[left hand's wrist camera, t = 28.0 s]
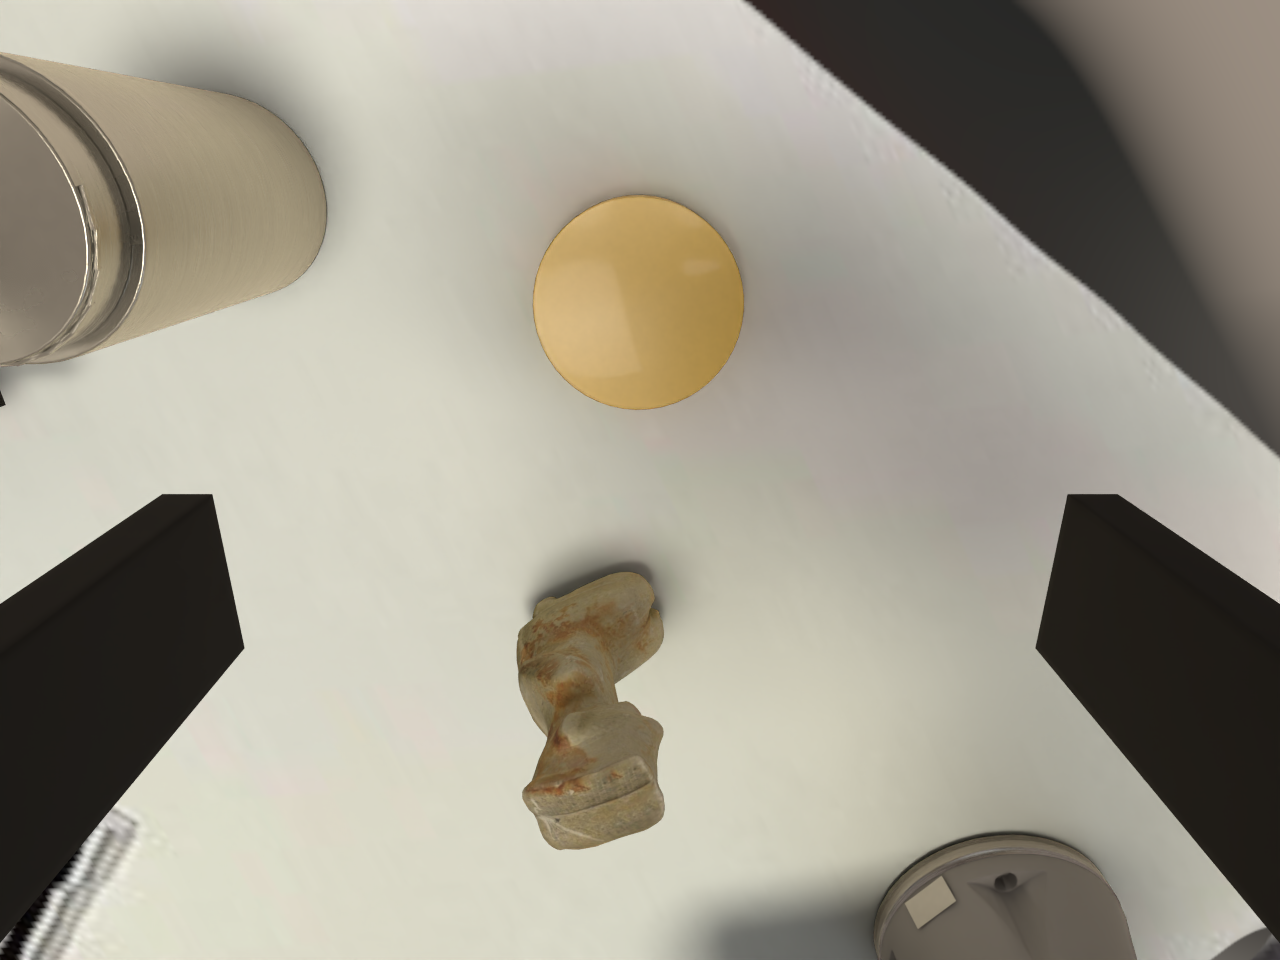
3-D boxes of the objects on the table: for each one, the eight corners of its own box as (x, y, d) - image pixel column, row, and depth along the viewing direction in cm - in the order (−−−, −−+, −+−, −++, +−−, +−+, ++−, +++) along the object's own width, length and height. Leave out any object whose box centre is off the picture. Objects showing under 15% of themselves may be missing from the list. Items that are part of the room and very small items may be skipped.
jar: (163, 302, 37) (-156, 390, 22) (107, 100, 34) (-308, 45, 19) (344, 289, 37) (144, 369, 22) (304, 85, 34) (40, 18, 19)
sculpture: (672, 640, 44) (687, 859, 30) (547, 669, 45) (505, 897, 31) (644, 548, 42) (646, 737, 28) (514, 580, 43) (452, 781, 29)
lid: (745, 197, 36) (751, 198, 34) (731, 399, 39) (736, 411, 37) (536, 192, 36) (529, 193, 34) (540, 395, 39) (535, 407, 37)
